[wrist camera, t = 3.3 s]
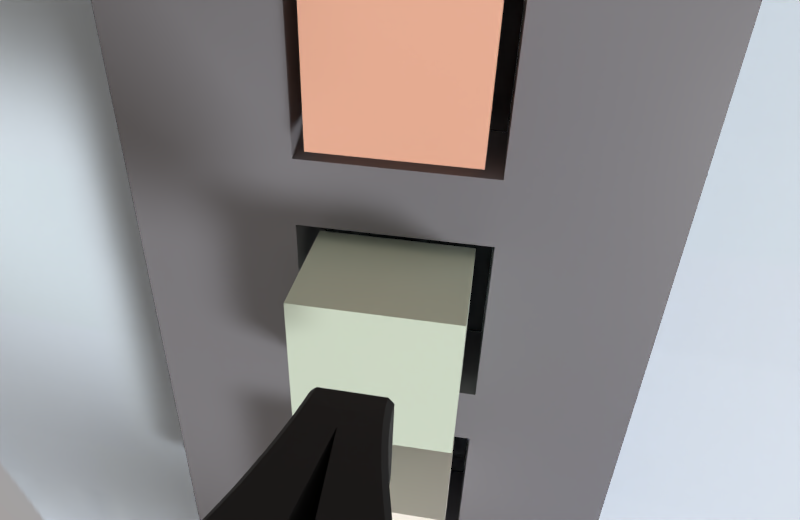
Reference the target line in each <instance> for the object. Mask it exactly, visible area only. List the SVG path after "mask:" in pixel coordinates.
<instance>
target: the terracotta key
mask: <svg viewBox="0 0 800 520" xmlns="http://www.w3.org/2000/svg"><path fill="white" fill-rule="evenodd" d="M504 1H505V0H297V16H298V36H299V57H300V77H301V98H302V119H303V139H304V152H313V153H323V154H333V155H343V156H353V157H363V158H373V159H383V160H393V161H403V162H413V163H423V164H433V165H443V166H453V167H463V168H473V169H483V170H485V163H486V155H487V147H488V139H489V131H490V123H491V115H492V107H493V98H494V89H495V80H496V72H497V63H498V54H499V45H500V36H501V28H502V19H503V10H504Z"/></svg>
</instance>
